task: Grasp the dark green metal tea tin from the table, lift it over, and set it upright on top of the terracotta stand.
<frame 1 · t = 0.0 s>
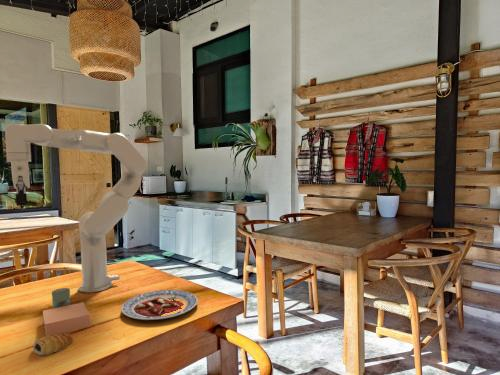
hand: (21, 204, 131), 37 cm above the table, tool pointing down, fingers open, 9 cm apart
tea tin: (61, 310, 124), on the table
pastry: (51, 349, 98), on the table
ceramic plate: (160, 309, 124), on the table
terracotta stand: (66, 324, 112), on the table
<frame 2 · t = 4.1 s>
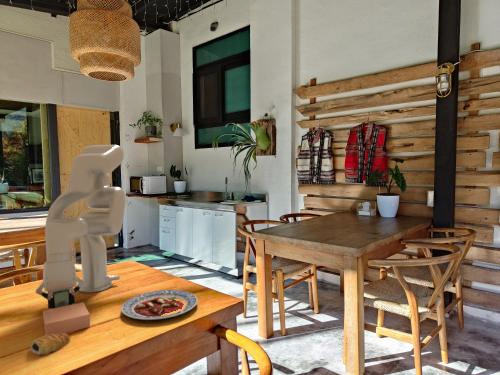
hand: (61, 307, 124), 1 cm above the table, tool pointing down, fingers closed on tea tin, 5 cm apart
tea tin: (61, 310, 124), on the table, touching gripper
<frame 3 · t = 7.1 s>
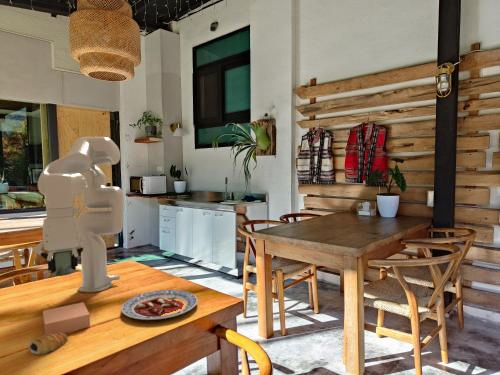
hand: (63, 270, 111), 18 cm above the table, tool pointing down, fingers closed on tea tin, 5 cm apart
tea tin: (63, 273, 111), point 17 cm above the table, touching gripper
when the fingers open (6 cm above the table, at t = 10.0 s): tea tin drops 1 cm, resting on terracotta stand.
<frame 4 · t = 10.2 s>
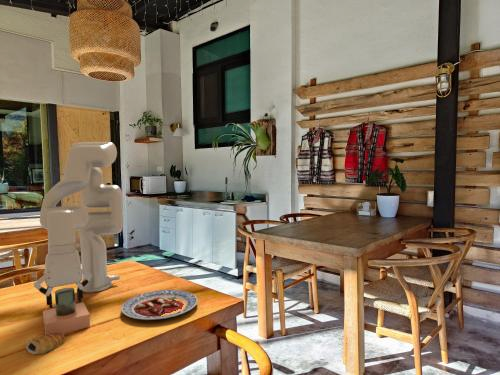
hand: (65, 303, 112), 7 cm above the table, tool pointing down, fingers open, 7 cm apart
tea tin: (65, 312, 112), point 4 cm above the table, touching terracotta stand
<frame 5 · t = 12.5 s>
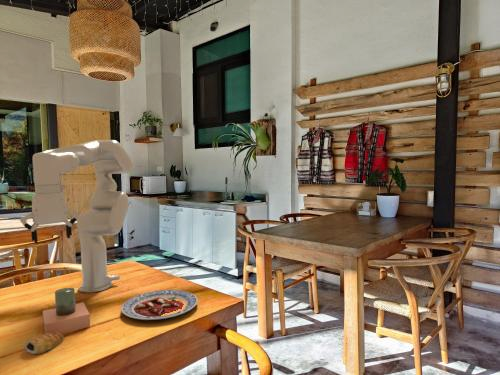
hand: (52, 240, 119), 26 cm above the table, tool pointing down, fingers open, 9 cm apart
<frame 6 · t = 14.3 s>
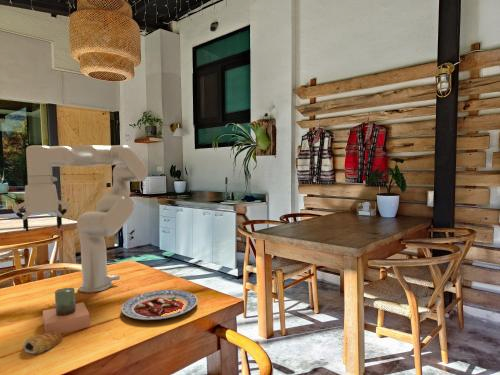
hand: (43, 229, 125), 28 cm above the table, tool pointing down, fingers open, 9 cm apart
at the end: tea tin inside the target area on the terracotta stand (0.1 cm from its centre), point 4.0 cm above the terracotta stand's base; tea tin tilted 0°; the gripper is holding nothing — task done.
